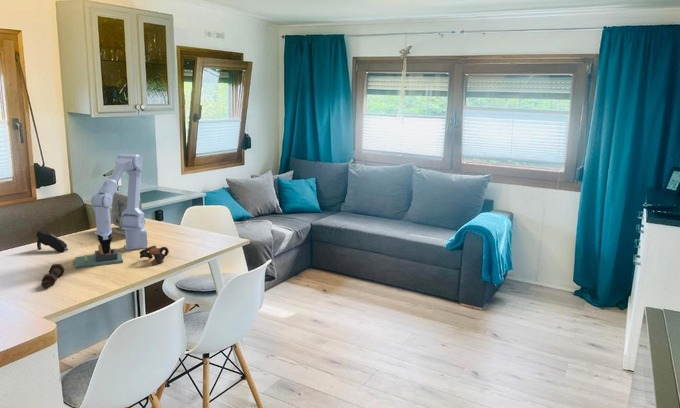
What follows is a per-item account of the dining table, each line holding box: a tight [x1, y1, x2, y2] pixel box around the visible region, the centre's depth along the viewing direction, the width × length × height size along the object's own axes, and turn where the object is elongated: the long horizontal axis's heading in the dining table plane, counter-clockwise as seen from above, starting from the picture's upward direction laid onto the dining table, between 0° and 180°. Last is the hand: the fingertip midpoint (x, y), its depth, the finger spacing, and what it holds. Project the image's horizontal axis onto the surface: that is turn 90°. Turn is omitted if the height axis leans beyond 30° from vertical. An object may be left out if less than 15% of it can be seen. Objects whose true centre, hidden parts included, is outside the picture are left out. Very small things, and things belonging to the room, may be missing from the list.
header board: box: [75, 248, 124, 269], centre depth 219 cm, size 18×13×4 cm
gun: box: [36, 229, 69, 253], centre depth 233 cm, size 3×16×10 cm, turn 79°
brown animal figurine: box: [138, 245, 170, 266], centre depth 220 cm, size 12×10×8 cm
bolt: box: [40, 263, 66, 289], centre depth 194 cm, size 6×5×15 cm
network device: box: [111, 190, 143, 236], centre depth 265 cm, size 26×9×20 cm, turn 49°
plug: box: [97, 243, 112, 255], centre depth 220 cm, size 5×4×6 cm
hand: (105, 251), depth 220 cm, fingers closed on plug, 4 cm apart
